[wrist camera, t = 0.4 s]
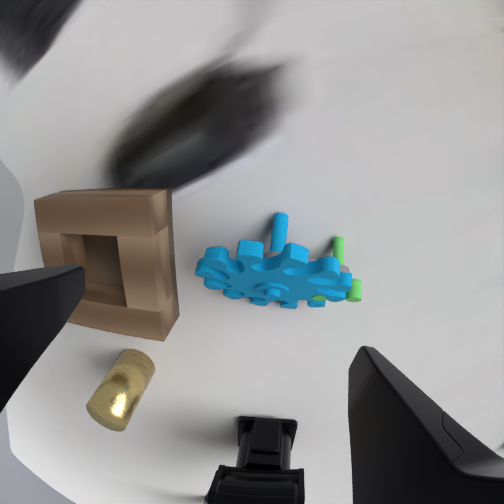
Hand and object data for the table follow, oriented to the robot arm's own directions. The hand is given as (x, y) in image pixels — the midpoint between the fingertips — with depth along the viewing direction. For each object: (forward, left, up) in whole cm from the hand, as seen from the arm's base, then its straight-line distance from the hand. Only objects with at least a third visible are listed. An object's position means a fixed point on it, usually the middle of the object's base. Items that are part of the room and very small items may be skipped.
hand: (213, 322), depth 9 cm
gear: (-4, -2, -14) cm, 15 cm away
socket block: (-4, +12, -14) cm, 19 cm away
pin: (-16, +12, -14) cm, 25 cm away
